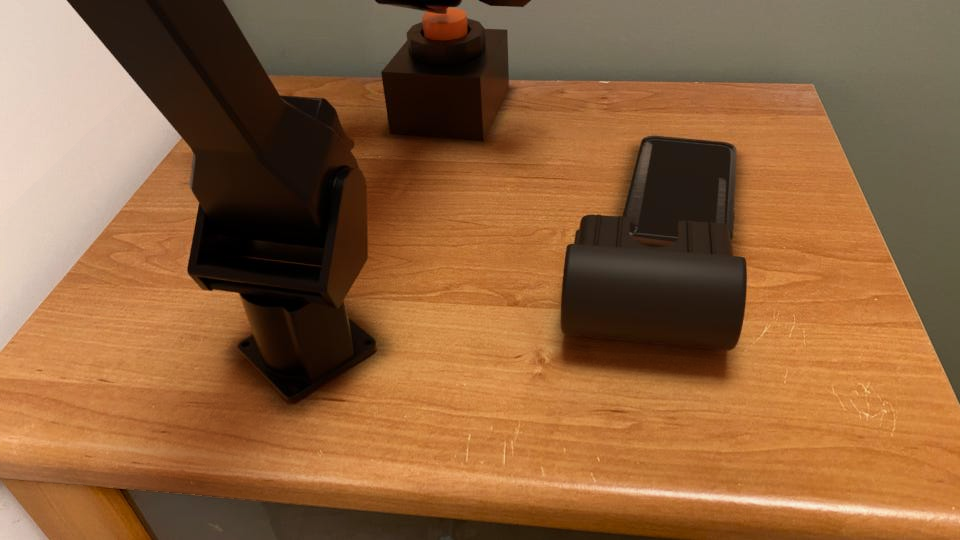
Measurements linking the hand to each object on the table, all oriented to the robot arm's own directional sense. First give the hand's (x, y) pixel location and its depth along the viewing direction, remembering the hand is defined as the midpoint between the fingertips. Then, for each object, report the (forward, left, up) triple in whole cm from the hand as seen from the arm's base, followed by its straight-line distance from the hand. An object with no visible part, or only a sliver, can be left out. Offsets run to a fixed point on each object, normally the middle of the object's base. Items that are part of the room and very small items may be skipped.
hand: (443, 8), depth 65 cm
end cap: (-32, +12, -10) cm, 36 cm away
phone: (-25, -2, -10) cm, 27 cm away
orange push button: (0, 0, -2) cm, 2 cm away
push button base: (0, 0, -10) cm, 10 cm away
